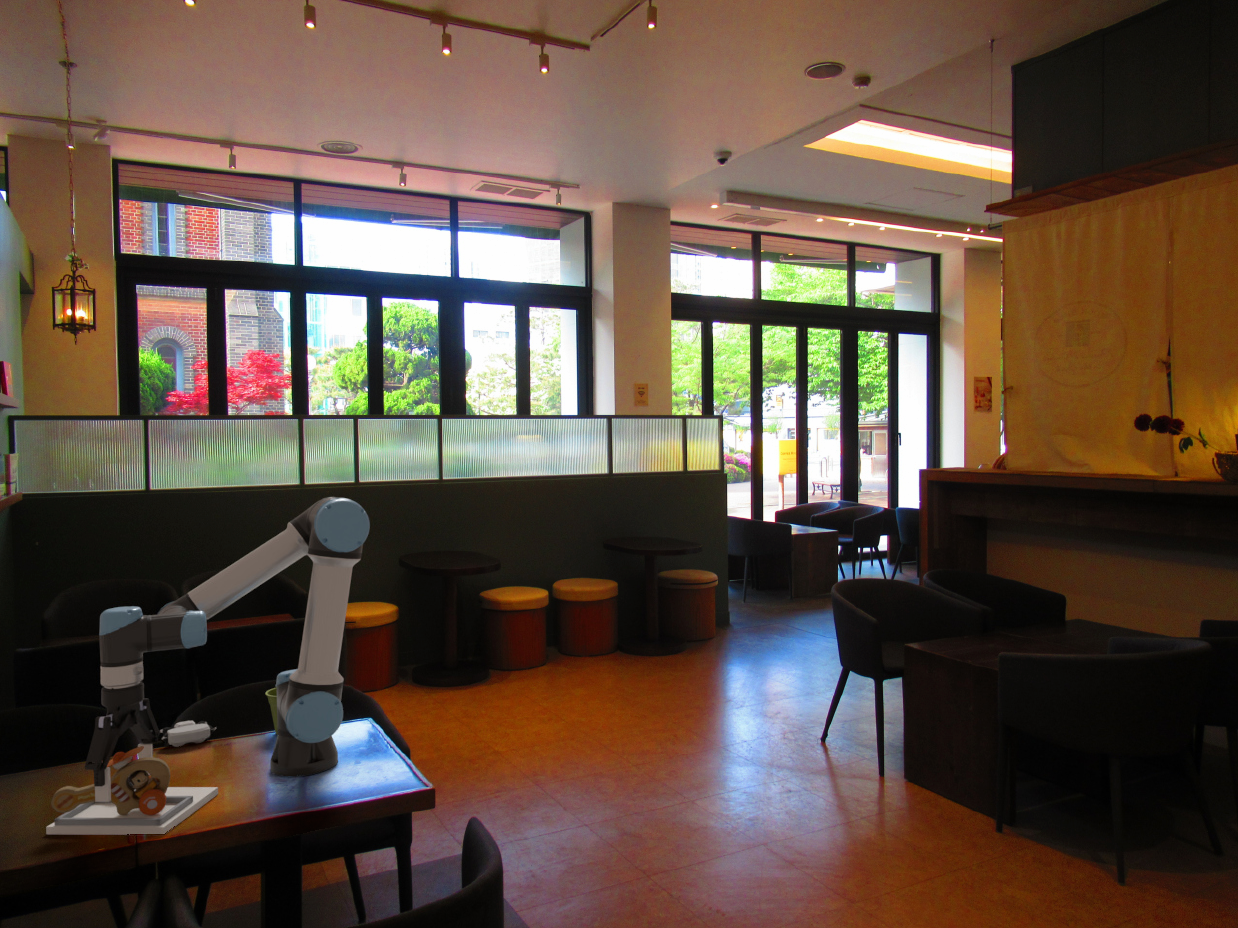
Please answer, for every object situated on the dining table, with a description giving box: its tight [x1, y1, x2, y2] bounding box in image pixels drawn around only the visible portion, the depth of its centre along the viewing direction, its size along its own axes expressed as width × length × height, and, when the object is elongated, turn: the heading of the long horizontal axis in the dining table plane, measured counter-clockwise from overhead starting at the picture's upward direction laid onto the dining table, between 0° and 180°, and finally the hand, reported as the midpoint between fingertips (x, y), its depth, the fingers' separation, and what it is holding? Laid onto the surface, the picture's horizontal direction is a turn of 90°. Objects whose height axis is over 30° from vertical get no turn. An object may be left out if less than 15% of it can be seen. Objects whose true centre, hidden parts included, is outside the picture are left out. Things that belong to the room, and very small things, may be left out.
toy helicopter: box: [50, 746, 171, 815], centre depth 170 cm, size 8×21×14 cm, turn 115°
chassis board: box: [45, 786, 219, 836], centre depth 175 cm, size 24×20×3 cm
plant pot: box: [265, 687, 278, 736], centre depth 227 cm, size 12×12×11 cm
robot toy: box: [159, 720, 217, 748], centre depth 221 cm, size 12×4×15 cm
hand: (125, 787), depth 172 cm, fingers open, 13 cm apart
